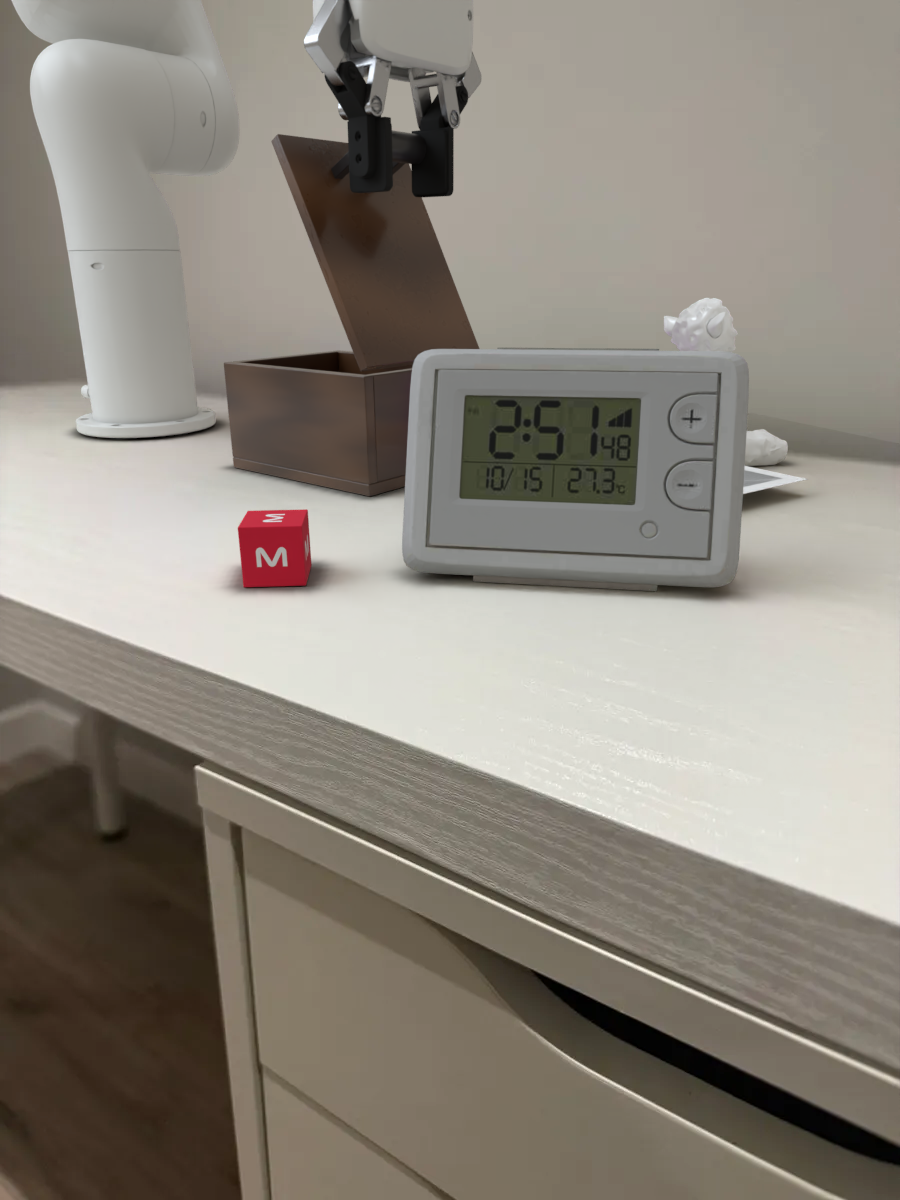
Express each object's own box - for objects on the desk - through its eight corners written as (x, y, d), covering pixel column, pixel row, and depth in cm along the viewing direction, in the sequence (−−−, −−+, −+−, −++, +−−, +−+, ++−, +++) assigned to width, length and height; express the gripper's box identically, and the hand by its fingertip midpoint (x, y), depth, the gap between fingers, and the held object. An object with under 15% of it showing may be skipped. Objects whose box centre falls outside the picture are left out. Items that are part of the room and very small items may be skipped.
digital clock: (384, 578, 43) (376, 355, 39) (451, 529, 51) (450, 339, 47) (727, 622, 38) (756, 367, 34) (743, 560, 46) (768, 347, 42)
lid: (270, 141, 55) (317, 89, 52) (396, 155, 64) (444, 112, 60) (360, 371, 56) (412, 336, 52) (473, 356, 64) (525, 325, 61)
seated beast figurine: (790, 463, 67) (812, 297, 63) (719, 480, 62) (738, 301, 58) (690, 445, 74) (704, 294, 70) (619, 458, 69) (629, 297, 65)
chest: (233, 467, 67) (223, 362, 65) (343, 444, 76) (338, 350, 73) (369, 496, 59) (364, 376, 56) (477, 466, 67) (477, 360, 64)
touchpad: (554, 505, 56) (555, 471, 55) (710, 473, 64) (713, 444, 63) (645, 534, 50) (647, 497, 49) (805, 495, 58) (810, 462, 57)
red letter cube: (252, 567, 45) (247, 510, 44) (311, 565, 45) (307, 509, 44) (243, 587, 42) (237, 527, 41) (306, 585, 42) (301, 525, 41)
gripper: (443, -97, 59) (443, 202, 65) (234, -189, 46) (261, 189, 53) (536, -126, 54) (526, 198, 61) (332, -236, 42) (348, 184, 49)
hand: (402, 191), depth 57 cm, fingers closed on lid, 5 cm apart
